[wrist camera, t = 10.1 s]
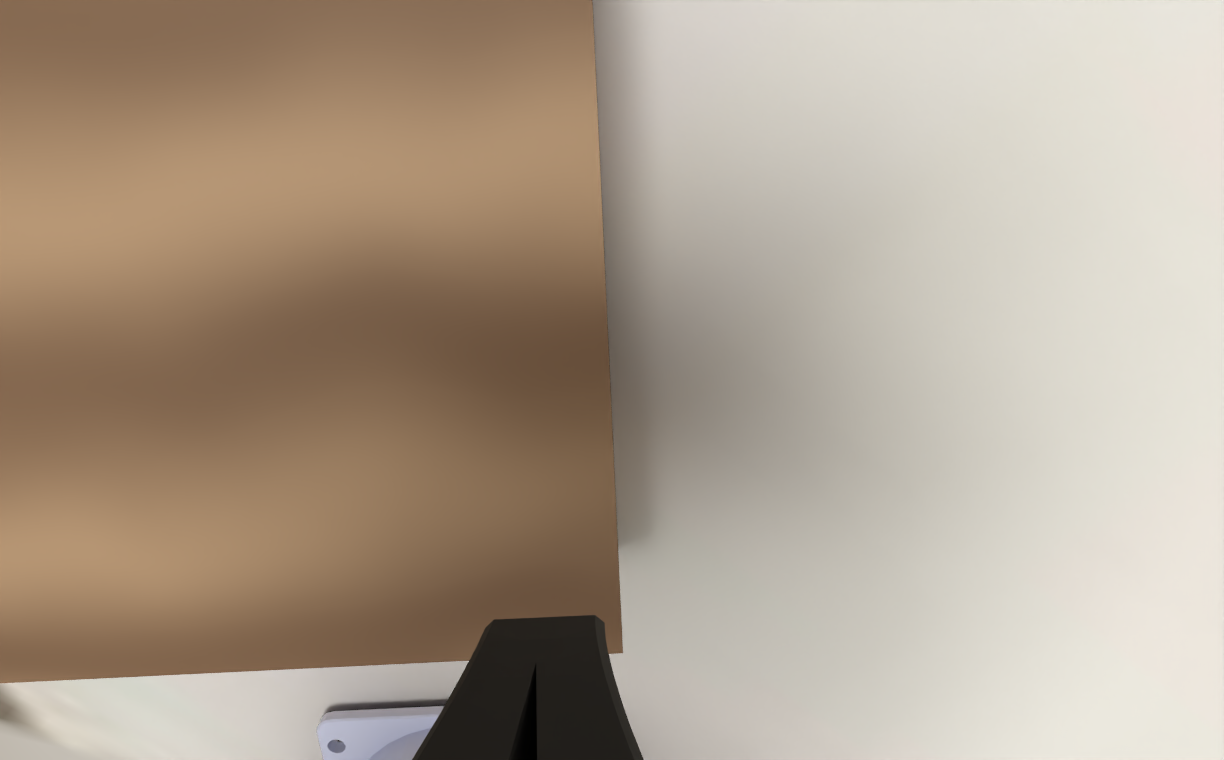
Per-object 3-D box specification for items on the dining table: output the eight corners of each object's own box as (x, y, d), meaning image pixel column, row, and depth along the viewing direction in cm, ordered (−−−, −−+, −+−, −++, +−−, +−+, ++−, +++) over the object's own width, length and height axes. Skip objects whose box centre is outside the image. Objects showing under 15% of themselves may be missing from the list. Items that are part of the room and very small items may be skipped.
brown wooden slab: (617, 548, 21) (622, 653, 18) (-49, 580, 21) (-184, 691, 17) (590, -33, 16) (589, -60, 12) (-304, 7, 16) (-578, -7, 12)
